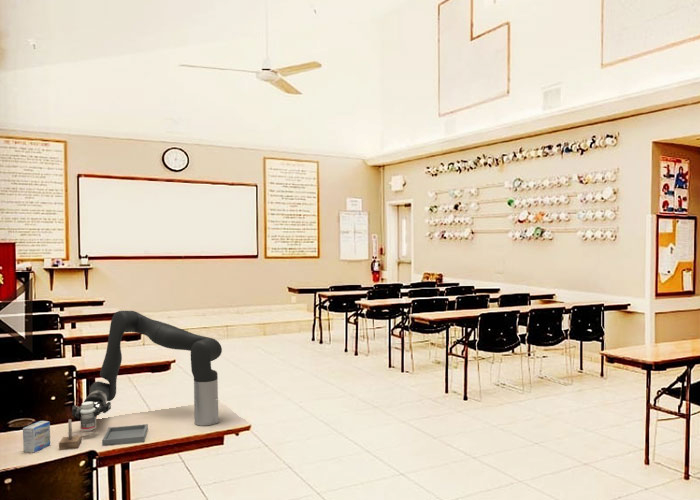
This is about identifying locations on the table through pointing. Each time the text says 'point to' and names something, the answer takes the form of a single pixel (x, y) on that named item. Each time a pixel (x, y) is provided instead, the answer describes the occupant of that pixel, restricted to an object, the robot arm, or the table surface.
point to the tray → (125, 435)
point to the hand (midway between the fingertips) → (86, 414)
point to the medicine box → (36, 436)
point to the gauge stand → (70, 439)
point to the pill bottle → (87, 416)
